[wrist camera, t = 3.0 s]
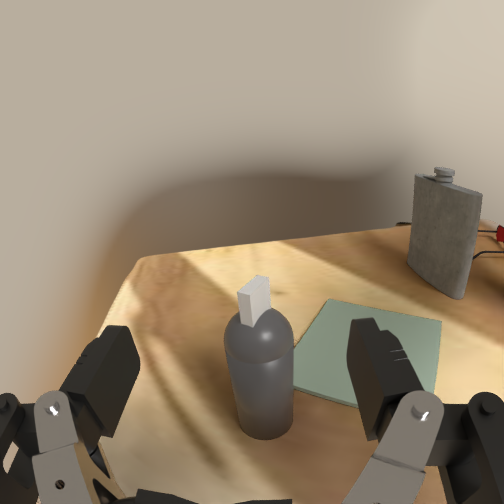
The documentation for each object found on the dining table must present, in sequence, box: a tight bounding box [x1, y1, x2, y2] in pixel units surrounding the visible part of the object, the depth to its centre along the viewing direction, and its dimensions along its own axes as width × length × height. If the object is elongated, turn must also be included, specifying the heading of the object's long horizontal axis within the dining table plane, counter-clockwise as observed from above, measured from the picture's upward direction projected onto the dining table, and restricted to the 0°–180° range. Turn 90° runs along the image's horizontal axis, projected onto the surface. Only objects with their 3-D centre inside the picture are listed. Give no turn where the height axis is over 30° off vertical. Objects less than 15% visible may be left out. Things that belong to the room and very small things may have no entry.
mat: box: [293, 299, 442, 408], centre depth 35 cm, size 18×18×1 cm
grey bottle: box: [224, 275, 294, 440], centre depth 24 cm, size 5×5×16 cm
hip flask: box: [407, 167, 483, 299], centre depth 45 cm, size 16×4×20 cm, turn 10°
